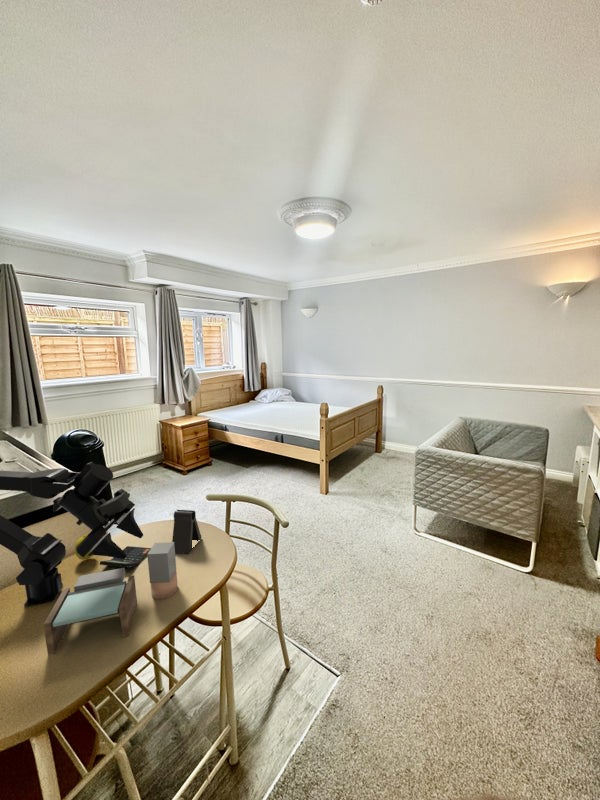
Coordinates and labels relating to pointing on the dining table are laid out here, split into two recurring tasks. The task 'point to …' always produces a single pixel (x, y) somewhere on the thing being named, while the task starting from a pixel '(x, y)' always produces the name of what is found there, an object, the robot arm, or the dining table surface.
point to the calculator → (128, 557)
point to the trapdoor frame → (56, 633)
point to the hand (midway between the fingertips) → (134, 546)
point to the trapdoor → (93, 597)
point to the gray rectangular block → (161, 562)
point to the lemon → (78, 554)
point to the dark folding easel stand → (185, 531)
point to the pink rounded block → (164, 588)
